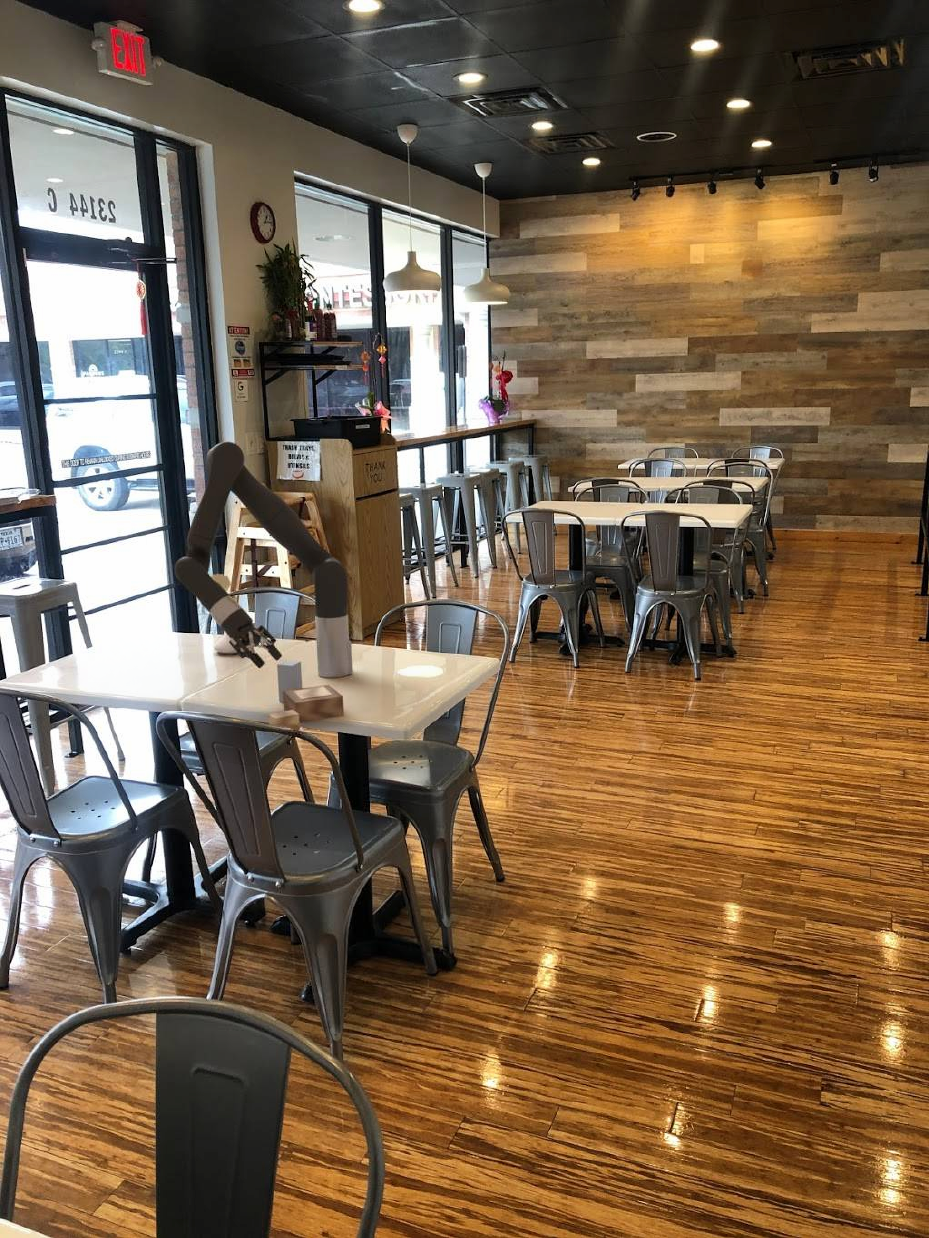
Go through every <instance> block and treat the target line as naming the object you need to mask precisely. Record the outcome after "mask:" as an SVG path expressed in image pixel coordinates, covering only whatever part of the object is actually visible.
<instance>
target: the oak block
mask: <svg viewBox="0 0 929 1238" xmlns="http://www.w3.org/2000/svg"><path fill="white" fill-rule="evenodd" d="M268 720H269V721H268V723H269V725H270V724H273V725H279V726H283V727H287V728H291V729H293V730H295V731H298V730H299V731H300V730H301V729H300V728H301V727H300V722H299V714H298V713H297V712H295V711H293V710H289V711H285V710H284V711H280V712H273V713H269V714H268ZM273 733H274V734H275V735H278V734H280V733H275V732H273Z"/></svg>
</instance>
